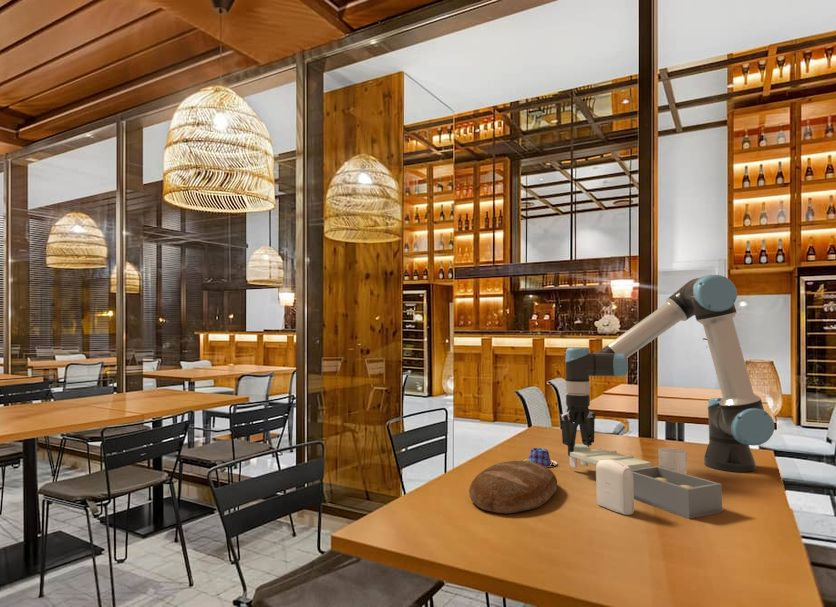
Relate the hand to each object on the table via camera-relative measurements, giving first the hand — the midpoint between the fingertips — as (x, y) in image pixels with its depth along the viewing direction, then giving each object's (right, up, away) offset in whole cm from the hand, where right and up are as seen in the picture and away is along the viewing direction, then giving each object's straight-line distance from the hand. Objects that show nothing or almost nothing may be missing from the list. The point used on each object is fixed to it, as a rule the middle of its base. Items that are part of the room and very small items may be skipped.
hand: (578, 465), depth 176 cm
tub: (+14, 0, -34) cm, 37 cm away
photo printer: (-2, 0, -38) cm, 39 cm away
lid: (+4, +4, -9) cm, 11 cm away
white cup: (+24, -1, -16) cm, 28 cm away
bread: (-26, -1, -26) cm, 36 cm away
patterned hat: (-11, -3, +9) cm, 15 cm away
